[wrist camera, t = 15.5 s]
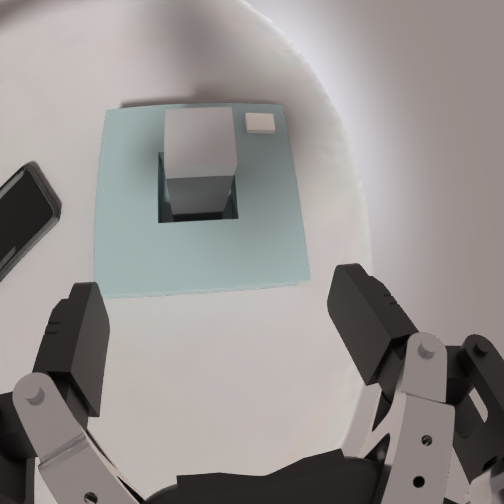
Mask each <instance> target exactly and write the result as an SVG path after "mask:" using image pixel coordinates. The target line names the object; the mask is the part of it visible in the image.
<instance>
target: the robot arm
mask: <svg viewBox="0 0 504 504" xmlns="http://www.w3.org/2000/svg"><path fill="white" fill-rule="evenodd" d="M327 307H328V312H329V315H330V317H331V319H332V321H333V323H334V325H335V327H336V328H337V330H338V332H339V334H340V336H341V338H342V340H343V342H344V344H345V346H346V347H347V349H348V351H349V353H350V355H351V357H352V359H353V361H354V363H355V365H356V367H357V369H358V371H359V373H360V375H361V377H362V379H363V380H364V382H365V384H366V386H368V385H371V384H375V383H379V385H380V387H381V388H380V390H379V391H378V395H377V399H376V403H375V406H374V410H373V414H372V418H371V422H370V425H369V429H368V432H367V435H366V438H365V440H364V442H363V444H362V446H361V447H360V449H359V452H358V454H357V456H356V457H347V456H346V457H344V455H343V452H342V450H341V448H340V449H337V450H333V451H330V452H326V453H322V454H318V455H314V456H310V457H306V458H303V459H301V460H299V461H297V462H295V463H293V464H291V465H289V466H286V467H284V468H282V469H280V470H278V471H276V472H273V473H271V474H269V475H266V476H251V475H238V474H227V473H209V474H196V475H179V476H177V484H175V485H171V486H169V487H166V488H164V489H161V490H160V491H158V492H156V493H154V494H153V495H151V496H150V497H149V498H147V499H145V498H144V497H143V496H142V495H141V494H140V493H139V492H138V490H137V489H136V488H135V487H134V486H133V485H132V484H131V483H130V482H129V481H128V480H127V479H126V478H125V476H124V475H123V474H122V473H121V472H120V471H119V469H118V468H117V467H116V466H115V464H114V463H113V462H112V461H111V459H110V458H109V457H108V456H107V454H106V453H105V452H104V450H103V449H102V448H101V446H100V445H99V443H98V442H97V441H96V439H95V438H94V436H93V435H92V434H91V432H90V431H89V429H88V428H87V423H88V417H99V416H100V404H101V394H102V385H103V376H104V368H105V361H106V354H107V347H108V341H109V334H110V325H109V318H108V315H107V312H106V309H105V305H104V302H103V299H102V296H101V292H100V289H99V286H98V284H97V283H96V282H84V283H75V284H74V285H73V287H72V290H71V292H70V295H69V298H68V299H61V301H60V302H59V303H58V304H57V305H56V306H55V308H54V309H53V310H52V313H51V315H50V318H49V321H48V325H47V327H46V329H45V335H43V338H42V341H41V344H40V348H39V351H38V354H37V357H36V361H35V364H34V368H33V371H32V373H30V374H28V375H26V376H24V377H23V378H21V379H20V380H19V381H18V383H17V384H16V386H15V388H14V390H13V392H9V393H5V394H0V504H34V473H35V457H39V459H40V462H41V464H39V465H38V469H39V472H40V474H41V476H42V478H43V480H44V481H45V483H46V485H47V487H48V488H49V490H50V491H51V493H52V495H53V496H54V498H55V500H56V501H57V503H58V504H457V503H456V502H453V501H451V500H449V499H447V498H445V497H444V495H445V490H446V485H447V478H448V473H449V466H450V459H451V451H452V445H453V448H454V450H455V452H456V454H457V456H458V458H459V461H460V463H461V465H462V468H463V470H464V472H465V474H466V477H467V479H468V482H469V484H470V488H469V492H468V493H467V494H466V495H465V498H464V502H465V504H504V360H503V359H502V357H501V356H500V354H499V353H498V351H497V350H496V349H495V347H494V346H493V344H492V343H491V342H490V341H489V340H487V339H486V338H485V337H483V336H480V335H476V334H473V335H470V336H468V337H467V338H466V340H465V341H464V343H463V344H462V346H444V344H443V343H442V342H441V340H440V339H438V338H437V337H436V336H434V335H432V334H429V333H424V332H419V331H418V330H417V328H416V327H415V326H414V324H413V323H412V321H411V320H410V319H409V317H408V316H407V315H406V313H405V312H404V311H403V309H402V308H401V307H400V305H399V304H397V301H396V300H395V299H394V297H393V296H391V293H390V292H389V291H388V289H387V288H386V287H385V286H384V284H383V283H381V282H380V281H378V280H377V279H376V278H374V277H373V276H369V275H368V274H367V273H366V272H365V270H364V269H363V268H362V266H361V265H360V264H358V263H354V264H343V265H338V266H337V267H336V268H335V271H334V275H333V280H332V284H331V288H330V292H329V296H328V300H327ZM474 387H475V389H476V390H477V392H478V394H479V395H480V397H481V399H482V400H483V402H484V404H485V405H486V408H487V411H488V417H487V420H486V422H485V423H484V422H483V420H482V418H481V416H480V414H479V412H478V410H477V409H476V407H475V405H474V403H473V401H472V400H471V398H470V396H469V393H470V392H471V391H472V390H473V388H474Z"/></svg>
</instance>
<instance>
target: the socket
mask: <svg viewBox="0 0 504 504" xmlns="http://www.w3.org/2000/svg"><path fill="white" fill-rule="evenodd" d="M208 107H232V115H233V125H234V135H235V145H236V155H237V167H236V170H235V174H234V177H233V181H232V184H231V188H230V191H229V195H228V198H227V202H226V205H225V209H224V212H223V216H222V220H206V221H189V222H174V220H173V215H172V210H171V204H170V199H169V193H168V187H167V182H166V176H165V170H164V135H165V109H181V108H208ZM309 280H311V279H310V271H309V263H308V256H307V248H306V241H305V234H304V227H303V220H302V213H301V207H300V200H299V194H298V188H297V181H296V175H295V169H294V163H293V158H292V152H291V146H290V141H289V135H288V130H287V125H286V119H285V114H284V109H283V105H278V104H257V103H188V104H167V105H152V106H140V107H130V108H120V109H112V110H106V115H105V121H104V128H103V135H102V142H101V150H100V158H99V167H98V178H97V190H96V204H95V225H94V282H96V283H97V284H98V286H99V289H100V292H101V296H102V297H103V298H107V299H112V298H133V297H151V296H168V295H184V294H199V293H213V292H226V291H238V290H250V289H262V288H273V287H284V286H294V285H299V284H301V283H304V282H307V281H309Z"/></svg>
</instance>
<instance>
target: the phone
mask: <svg viewBox="0 0 504 504" xmlns="http://www.w3.org/2000/svg"><path fill="white" fill-rule="evenodd" d="M59 219H60V209H59V207H58V206H57V204H56V203H55V201H54V200H53V198H52V196H51V195H50V193H49V192H48V190H47V188H46V187H45V185H44V184H43V182H42V180H41V179H40V177H39V175H38V174H37V172H36V170H35V169H34V168H33V167H32V166H31V165H24V166H22V167H21V168H20V169H19V170H18V171H17V172H16V173H15V174H14V175H13V176H12V177H11V178H9V179H8V180H7V181H6V182H5V183H4V184H3V185H2V186H1V187H0V282H1V281H2V280H3V279H4V278H5V276H6V275H7V274H8V273H9V272H10V271H11V270H12V269H13V268H14V266H15V265H16V264H17V263H18V262H19V261H20V260H21V259H22V258H23V257H24V256H25V255H26V254H27V253H28V252H29V251H30V250H31V249H32V248H33V247H34V246H35V245H36V244H37V243H38V242H39V241H40V240H41V239H42V238H43V237H44V236H45V235H46V234H47V233H48V232H49V231H50V230H51V229H52V228H53V227H54V226H55V225H56V224H57V223H58V221H59Z"/></svg>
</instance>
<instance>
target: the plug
mask: <svg viewBox="0 0 504 504" xmlns="http://www.w3.org/2000/svg"><path fill="white" fill-rule="evenodd" d="M236 167H237V155H236V145H235V135H234V125H233V115H232V107H208V108H181V109H165V135H164V170H165V176H166V182H167V187H168V193H169V199H170V204H171V210H172V215H173V220H174V222H189V221H206V220H222V216H223V212H224V209H225V205H226V202H227V198H228V195H229V191H230V188H231V184H232V181H233V177H234V174H235V170H236Z"/></svg>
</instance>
